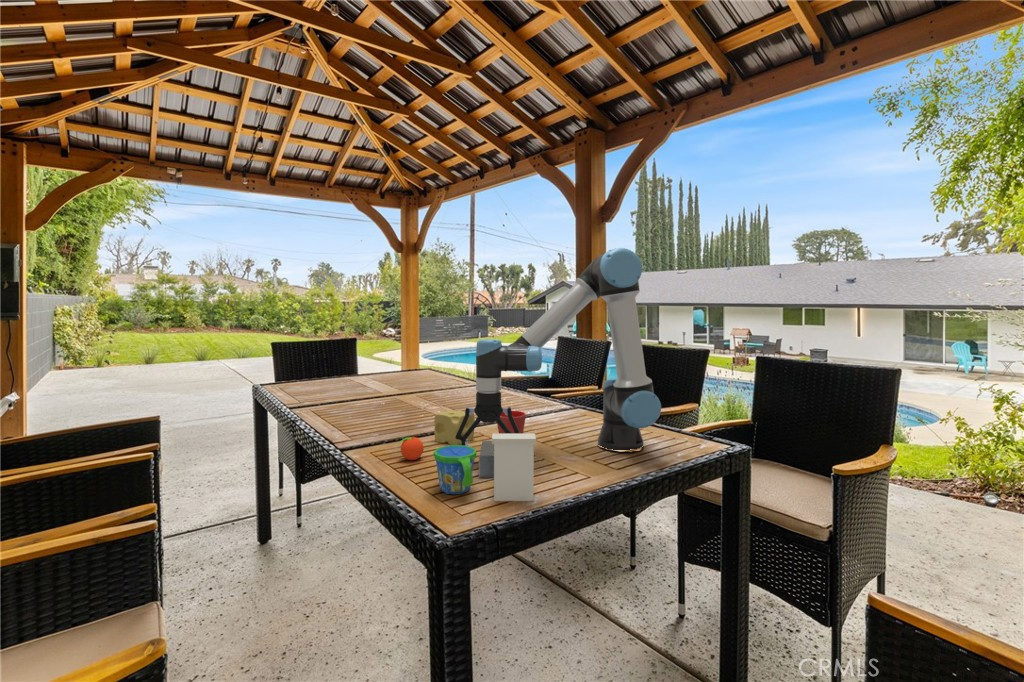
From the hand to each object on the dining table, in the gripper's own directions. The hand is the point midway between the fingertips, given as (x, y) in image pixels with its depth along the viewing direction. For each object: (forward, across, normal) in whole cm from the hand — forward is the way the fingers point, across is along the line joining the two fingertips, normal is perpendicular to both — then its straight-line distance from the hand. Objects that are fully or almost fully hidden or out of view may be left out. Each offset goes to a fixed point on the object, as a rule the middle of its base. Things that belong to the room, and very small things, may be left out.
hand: (488, 462), depth 140 cm
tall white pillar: (0, -7, +23) cm, 24 cm away
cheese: (+1, +13, -25) cm, 28 cm away
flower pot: (0, -7, -25) cm, 26 cm away
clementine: (0, +24, -3) cm, 24 cm away
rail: (0, 0, +5) cm, 5 cm away
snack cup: (0, +8, +22) cm, 23 cm away
